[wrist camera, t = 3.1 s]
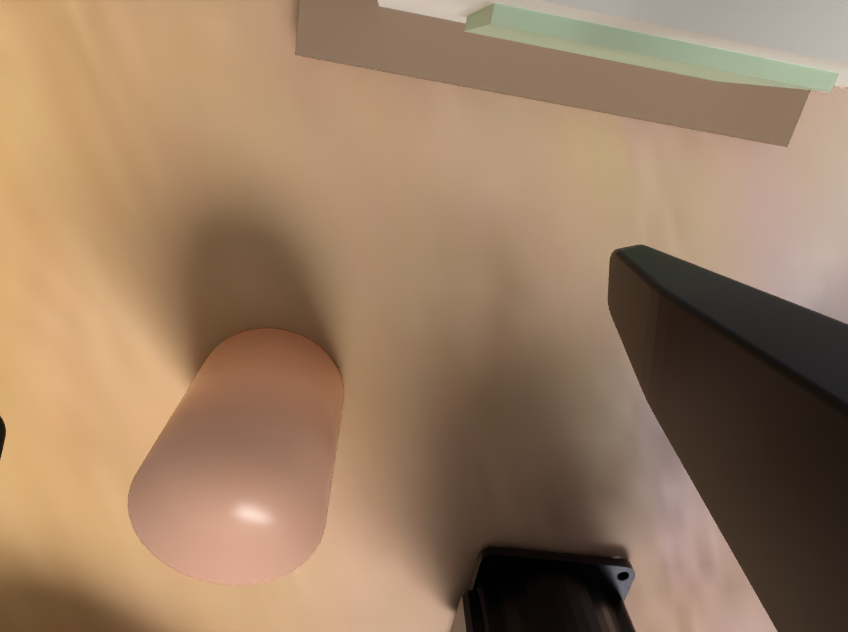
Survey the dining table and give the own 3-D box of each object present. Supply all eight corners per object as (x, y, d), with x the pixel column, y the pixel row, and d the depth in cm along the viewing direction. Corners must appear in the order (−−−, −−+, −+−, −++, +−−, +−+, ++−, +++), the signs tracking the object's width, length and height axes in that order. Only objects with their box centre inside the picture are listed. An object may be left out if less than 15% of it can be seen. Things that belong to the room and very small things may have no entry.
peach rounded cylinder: (352, 339, 20) (336, 447, 15) (335, 458, 22) (315, 593, 17) (201, 318, 19) (125, 422, 14) (197, 442, 21) (130, 576, 16)
